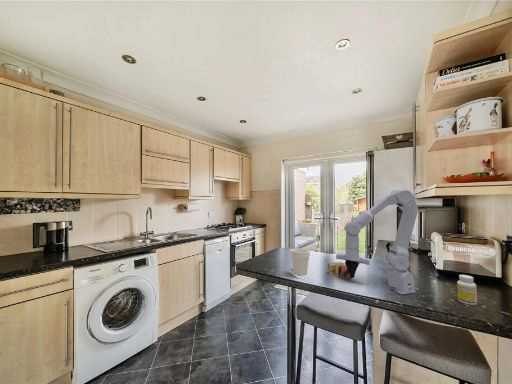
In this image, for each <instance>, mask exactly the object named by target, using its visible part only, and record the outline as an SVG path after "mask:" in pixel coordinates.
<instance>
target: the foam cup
mask: <svg viewBox="0 0 512 384" xmlns="http://www.w3.org/2000/svg"><path fill="white" fill-rule="evenodd" d="M290 255H291V264H292V272H293V275H294V274H295V275H297V276H307V274H308V267H309V259H310V249H306V248H300V247H299V248H292V249H290Z"/></svg>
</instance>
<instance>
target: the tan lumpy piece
mask: <svg viewBox="0 0 512 384" xmlns="http://www.w3.org/2000/svg"><path fill="white" fill-rule="evenodd" d="M341 267H346V265H345V263H344V264H336V265H334V273H335V274H337V275H341V273H340V268H341Z"/></svg>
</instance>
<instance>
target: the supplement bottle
mask: <svg viewBox="0 0 512 384" xmlns="http://www.w3.org/2000/svg"><path fill="white" fill-rule="evenodd" d="M458 278H459V279H458V281H457V282H456V287H457V288H456V289H457V300H458V301H459V302H461V303H463V304H466V305H471V306H475V305H477V304H478V295H477V284H476V283H475V282H474V277H473V276H471V275H467V274H459V275H458Z"/></svg>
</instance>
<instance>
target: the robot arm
mask: <svg viewBox="0 0 512 384" xmlns="http://www.w3.org/2000/svg"><path fill="white" fill-rule="evenodd" d="M392 205H396V206H398V208H399V209H400V210H401V212H402V214H401V217H400V221H399V225H398V228H397V232H396V236H395V238H394V245H393V246H392V247H391V246H390V251H389V252H387V253H386V255H385V260H386V261H387V263H388V265H387V285H388V286H390V287H392V288H391V289H390V290H391V291H394V292H395V293H398V294H400V295H408V294H414V293H417V291H416V290H415V288H416V287H415V275H414V274H413V273H412V272H411V273H410V272H408V271H407V268H408V267H409V265H410V259H409V253H408V246H410V241H411V238H412V234H413V231H414V227H415V224H416V219H417V216H418V212H419V208H418V206H417V202H416V195H415V194H414V193H413V192H412V191H411V190H410V189H408V188H407V189H406V188H400V189H394V190H391V192H389V193H387V194H385V196H383V197H382V198H381V199H380V200H378V202H377V203H375V204H374V205H373V206H371V208H369V209H368V210H362V211H361V210H360V211H358V214H357V215H355V217H354V218H351V219H350V221H348V222H346V223H345V225H344V231H345V254H339V253H337V254H336V255H335V260H343V261H344V265H346V266H347V269H348V271H349V275H350V278H351V279H354V278H355V276H356V273H357V269H358V268H359V266H360V264H363V265H365V266H369V265H370V264H371V261H370V259H366V258H363V257H360V238H359V234H361V233H360V232H361V229H362V230H363V228H365V227H366V226H368V225H369V224H370V223H372V222H373V220H374V217H375V216H376V215H377V214H379V213H380V212H381V211H382V210H384V209H386V207H388V206H392Z"/></svg>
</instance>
